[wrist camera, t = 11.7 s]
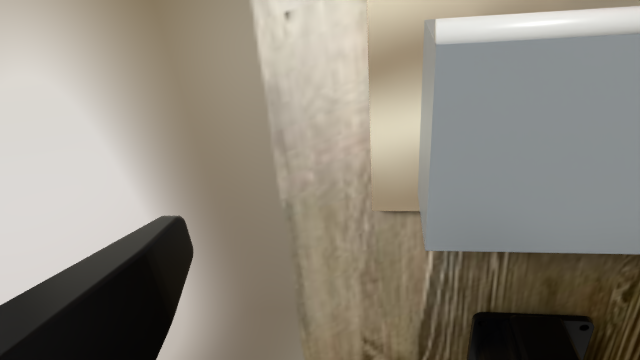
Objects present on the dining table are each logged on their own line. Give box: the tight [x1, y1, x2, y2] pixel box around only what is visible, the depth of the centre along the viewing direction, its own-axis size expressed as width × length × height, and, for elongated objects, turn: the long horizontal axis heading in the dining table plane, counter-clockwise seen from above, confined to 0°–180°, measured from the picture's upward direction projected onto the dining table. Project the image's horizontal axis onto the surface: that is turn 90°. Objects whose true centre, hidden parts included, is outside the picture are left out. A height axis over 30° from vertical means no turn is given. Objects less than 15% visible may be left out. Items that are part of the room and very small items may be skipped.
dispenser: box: [418, 6, 640, 254], centre depth 15 cm, size 9×12×4 cm
